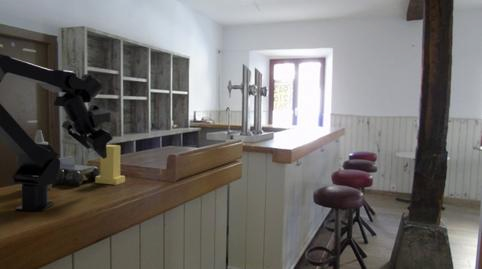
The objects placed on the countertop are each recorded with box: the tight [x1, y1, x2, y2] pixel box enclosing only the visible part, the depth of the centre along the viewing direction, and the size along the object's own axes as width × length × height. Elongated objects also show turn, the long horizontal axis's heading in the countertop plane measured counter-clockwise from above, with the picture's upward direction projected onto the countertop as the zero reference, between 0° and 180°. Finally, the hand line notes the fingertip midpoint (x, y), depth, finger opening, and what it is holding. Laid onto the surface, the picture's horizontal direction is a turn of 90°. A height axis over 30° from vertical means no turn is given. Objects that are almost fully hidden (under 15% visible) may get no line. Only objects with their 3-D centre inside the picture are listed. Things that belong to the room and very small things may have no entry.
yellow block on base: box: [94, 144, 126, 186], centre depth 118 cm, size 5×8×12 cm, turn 76°
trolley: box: [54, 155, 100, 187], centre depth 116 cm, size 10×11×8 cm
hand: (97, 153), depth 109 cm, fingers open, 9 cm apart
